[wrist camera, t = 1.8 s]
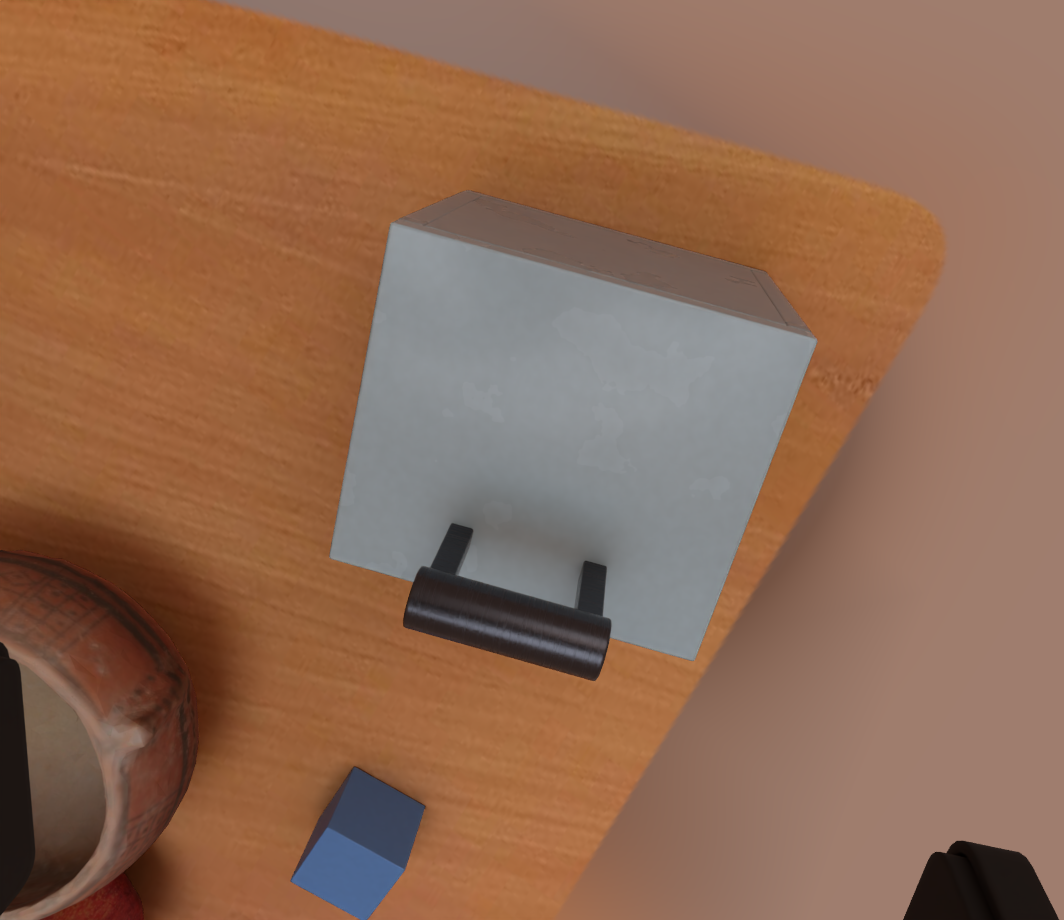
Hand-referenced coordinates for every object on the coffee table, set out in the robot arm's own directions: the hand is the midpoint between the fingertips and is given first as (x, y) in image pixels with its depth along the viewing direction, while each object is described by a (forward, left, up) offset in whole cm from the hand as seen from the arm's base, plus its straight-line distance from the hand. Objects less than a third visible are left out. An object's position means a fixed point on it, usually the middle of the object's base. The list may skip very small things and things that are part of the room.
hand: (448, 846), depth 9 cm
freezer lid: (+1, -2, -17) cm, 17 cm away
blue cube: (+4, -27, -27) cm, 38 cm away
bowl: (-12, -27, -27) cm, 40 cm away
